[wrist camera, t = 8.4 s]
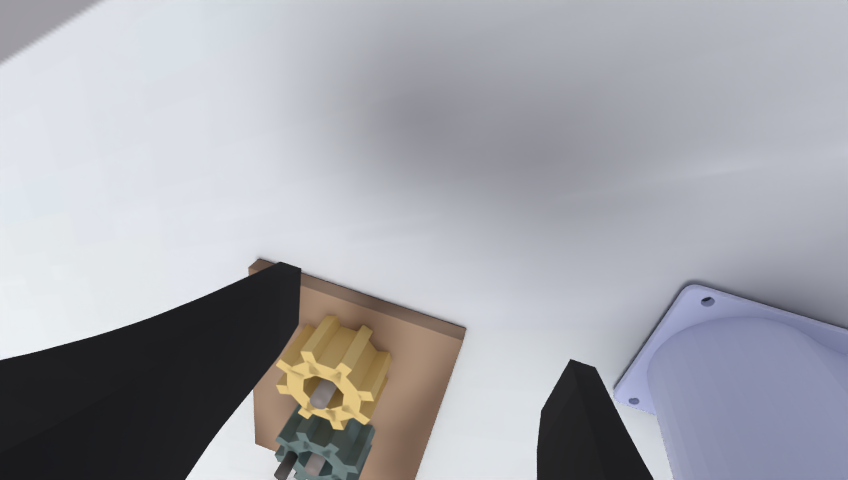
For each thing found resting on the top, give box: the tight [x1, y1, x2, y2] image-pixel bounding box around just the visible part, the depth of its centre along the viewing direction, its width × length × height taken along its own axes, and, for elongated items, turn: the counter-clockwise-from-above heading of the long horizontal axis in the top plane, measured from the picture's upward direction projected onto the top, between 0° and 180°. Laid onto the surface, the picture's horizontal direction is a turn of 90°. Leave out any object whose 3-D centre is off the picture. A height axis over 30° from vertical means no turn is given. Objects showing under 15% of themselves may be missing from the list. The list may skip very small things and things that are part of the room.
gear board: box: [249, 259, 466, 480], centre depth 26 cm, size 13×18×6 cm
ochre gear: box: [276, 315, 392, 430], centre depth 24 cm, size 6×6×3 cm
